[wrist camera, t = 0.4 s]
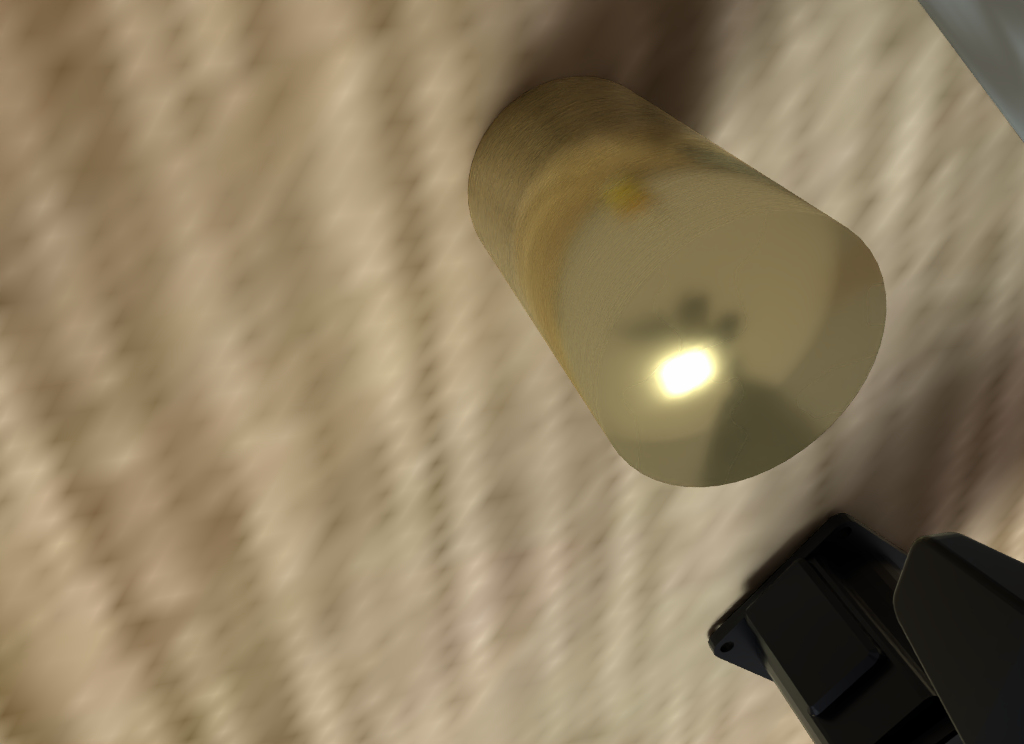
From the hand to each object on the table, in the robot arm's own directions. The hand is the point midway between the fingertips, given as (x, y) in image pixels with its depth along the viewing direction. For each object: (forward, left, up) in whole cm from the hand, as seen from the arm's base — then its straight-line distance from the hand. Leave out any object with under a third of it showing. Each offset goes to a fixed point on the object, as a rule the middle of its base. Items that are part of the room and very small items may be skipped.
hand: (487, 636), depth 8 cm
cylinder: (-4, -3, -13) cm, 14 cm away
